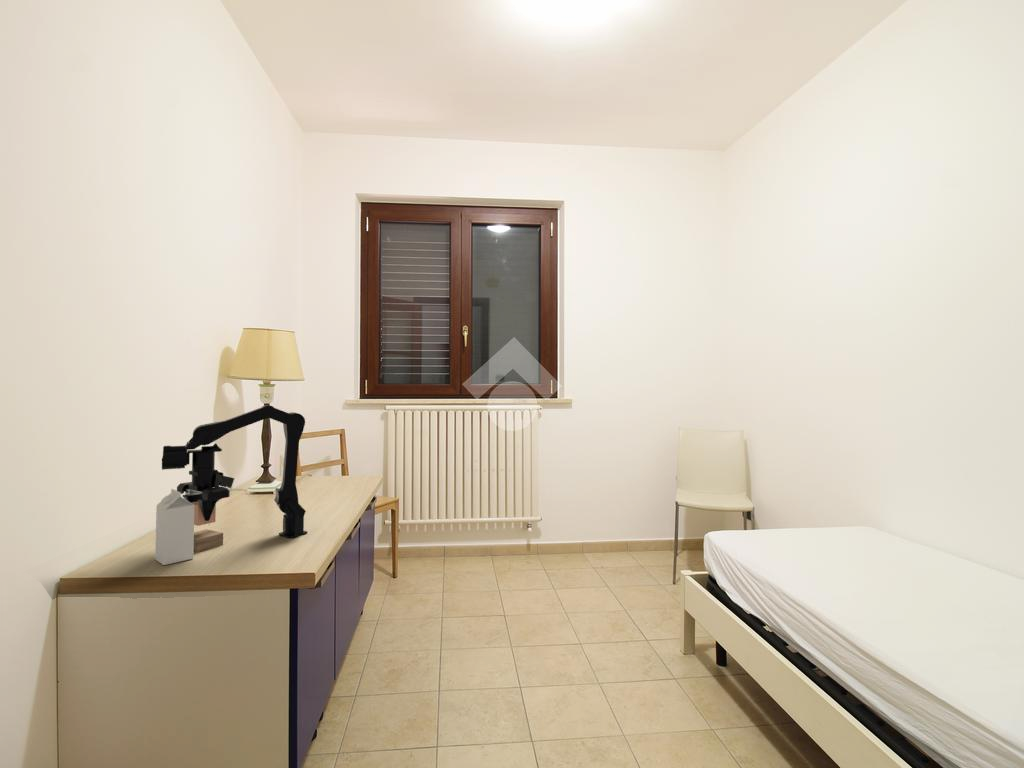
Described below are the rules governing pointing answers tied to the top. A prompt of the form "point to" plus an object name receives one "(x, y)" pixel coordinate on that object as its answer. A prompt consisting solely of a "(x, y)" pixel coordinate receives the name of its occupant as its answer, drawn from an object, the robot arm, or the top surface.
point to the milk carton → (174, 529)
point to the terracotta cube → (199, 516)
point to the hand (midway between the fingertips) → (202, 519)
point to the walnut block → (207, 540)
